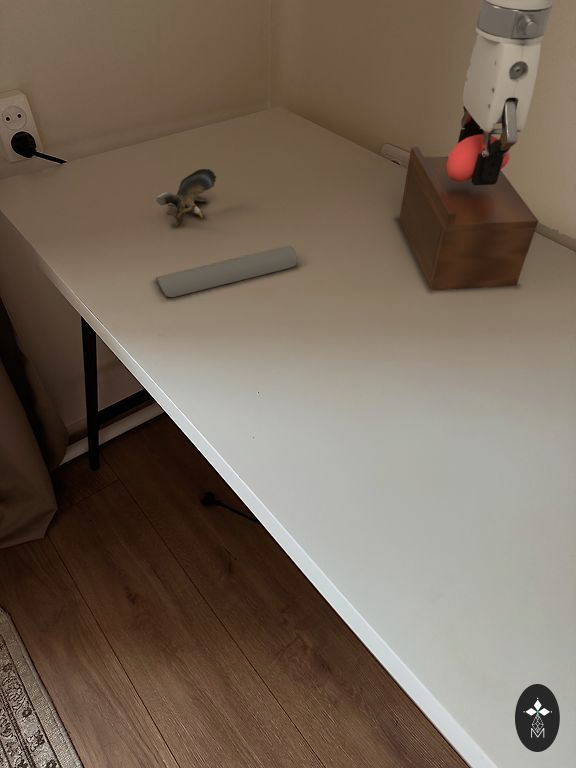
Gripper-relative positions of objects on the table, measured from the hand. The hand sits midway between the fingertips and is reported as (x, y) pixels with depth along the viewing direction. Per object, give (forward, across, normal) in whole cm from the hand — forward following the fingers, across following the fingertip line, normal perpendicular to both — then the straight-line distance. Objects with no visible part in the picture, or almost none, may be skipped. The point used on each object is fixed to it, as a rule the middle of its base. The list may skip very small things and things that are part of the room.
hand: (474, 169), depth 84 cm
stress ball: (+1, 0, 0) cm, 1 cm away
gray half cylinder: (+13, -3, +33) cm, 36 cm away
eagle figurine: (+13, +13, +38) cm, 42 cm away
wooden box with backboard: (+12, 0, 0) cm, 12 cm away
